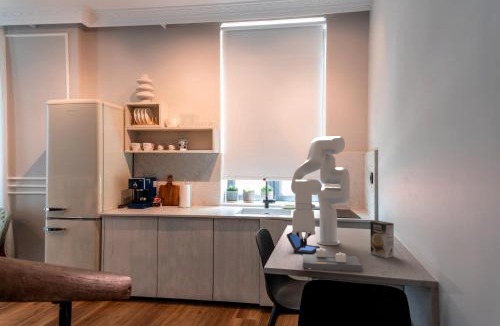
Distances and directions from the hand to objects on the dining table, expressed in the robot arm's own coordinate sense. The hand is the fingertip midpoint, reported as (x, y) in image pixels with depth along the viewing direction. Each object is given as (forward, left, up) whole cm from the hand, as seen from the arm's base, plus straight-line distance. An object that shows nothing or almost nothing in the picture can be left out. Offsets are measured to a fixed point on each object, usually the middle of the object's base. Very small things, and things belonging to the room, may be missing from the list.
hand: (303, 247), depth 152 cm
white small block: (+6, +16, -4) cm, 17 cm away
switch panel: (+3, +12, -7) cm, 14 cm away
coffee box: (-17, +38, -7) cm, 42 cm away
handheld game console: (-21, 0, -7) cm, 23 cm away
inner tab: (-1, +8, -4) cm, 9 cm away
